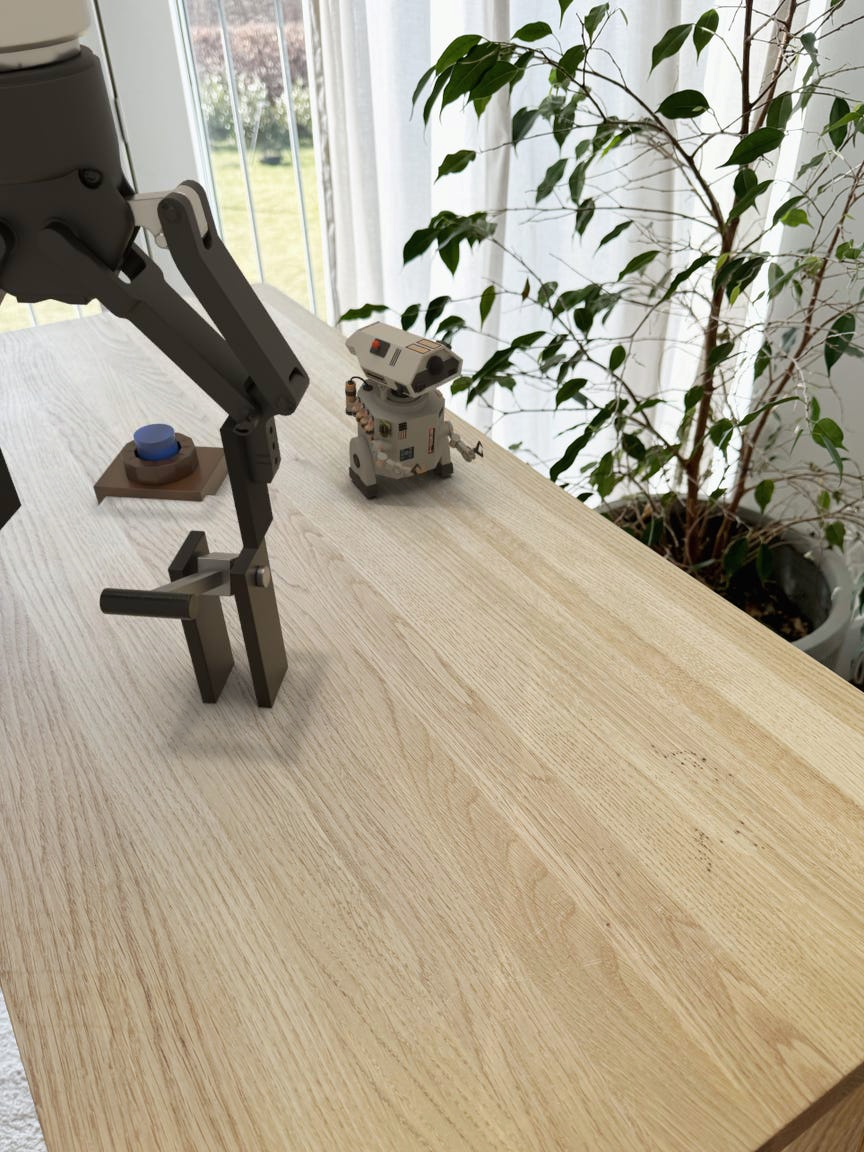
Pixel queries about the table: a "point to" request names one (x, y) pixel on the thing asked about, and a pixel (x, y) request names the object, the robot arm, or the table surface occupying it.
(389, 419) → the figurine
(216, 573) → the lever
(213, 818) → the table surface
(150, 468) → the switch block
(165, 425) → the button
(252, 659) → the lever bracket
